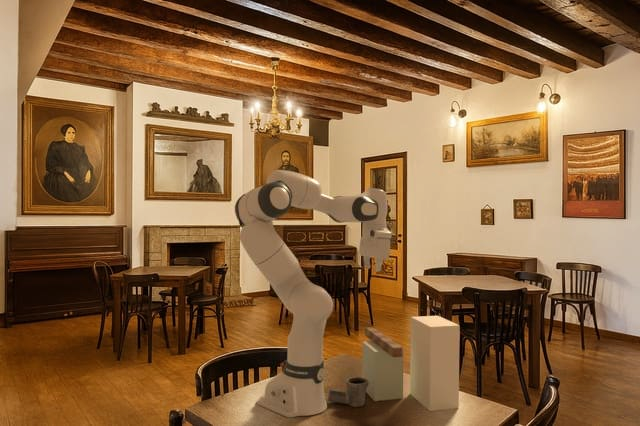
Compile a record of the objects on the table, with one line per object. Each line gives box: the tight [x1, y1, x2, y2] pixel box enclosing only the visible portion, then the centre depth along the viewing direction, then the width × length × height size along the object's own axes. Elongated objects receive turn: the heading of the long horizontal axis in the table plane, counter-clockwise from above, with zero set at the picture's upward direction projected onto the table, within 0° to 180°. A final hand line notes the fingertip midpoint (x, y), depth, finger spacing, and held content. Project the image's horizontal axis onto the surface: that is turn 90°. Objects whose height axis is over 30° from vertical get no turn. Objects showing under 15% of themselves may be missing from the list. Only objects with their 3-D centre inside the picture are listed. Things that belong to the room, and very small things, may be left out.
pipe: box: [327, 376, 369, 408], centre depth 147 cm, size 6×13×8 cm, turn 80°
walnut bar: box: [364, 326, 404, 357], centre depth 157 cm, size 26×3×3 cm, turn 14°
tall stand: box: [409, 315, 461, 412], centre depth 150 cm, size 14×10×26 cm
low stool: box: [361, 340, 404, 402], centre depth 157 cm, size 12×10×16 cm
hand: (372, 269), depth 170 cm, fingers open, 8 cm apart
